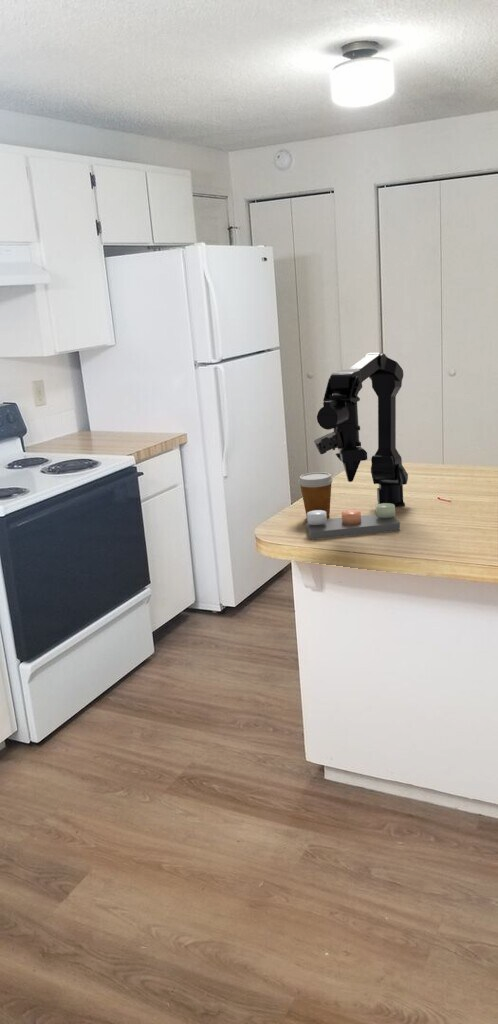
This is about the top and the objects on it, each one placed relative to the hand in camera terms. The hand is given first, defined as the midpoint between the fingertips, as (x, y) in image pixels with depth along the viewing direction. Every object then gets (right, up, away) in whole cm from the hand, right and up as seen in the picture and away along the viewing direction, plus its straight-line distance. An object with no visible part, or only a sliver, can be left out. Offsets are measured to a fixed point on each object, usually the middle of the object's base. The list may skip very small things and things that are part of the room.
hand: (350, 481), depth 213 cm
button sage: (+10, -9, +3) cm, 13 cm away
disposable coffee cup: (-7, -10, +16) cm, 20 cm away
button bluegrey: (-8, -11, +2) cm, 14 cm away
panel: (+1, -12, +3) cm, 13 cm away
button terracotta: (+1, -10, +3) cm, 11 cm away
